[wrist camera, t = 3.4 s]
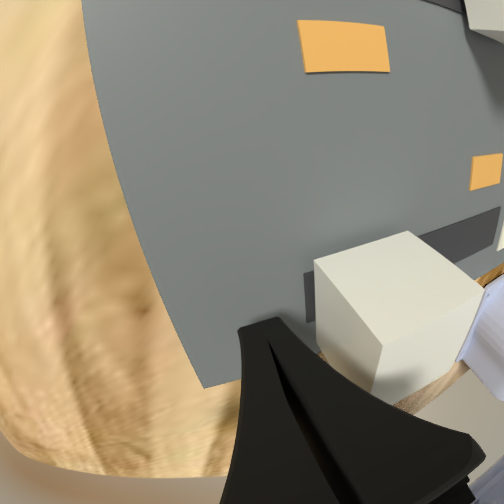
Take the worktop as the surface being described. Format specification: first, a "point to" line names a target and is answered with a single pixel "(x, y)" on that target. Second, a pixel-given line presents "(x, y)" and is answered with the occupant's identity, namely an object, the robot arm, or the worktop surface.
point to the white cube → (392, 314)
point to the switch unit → (294, 147)
